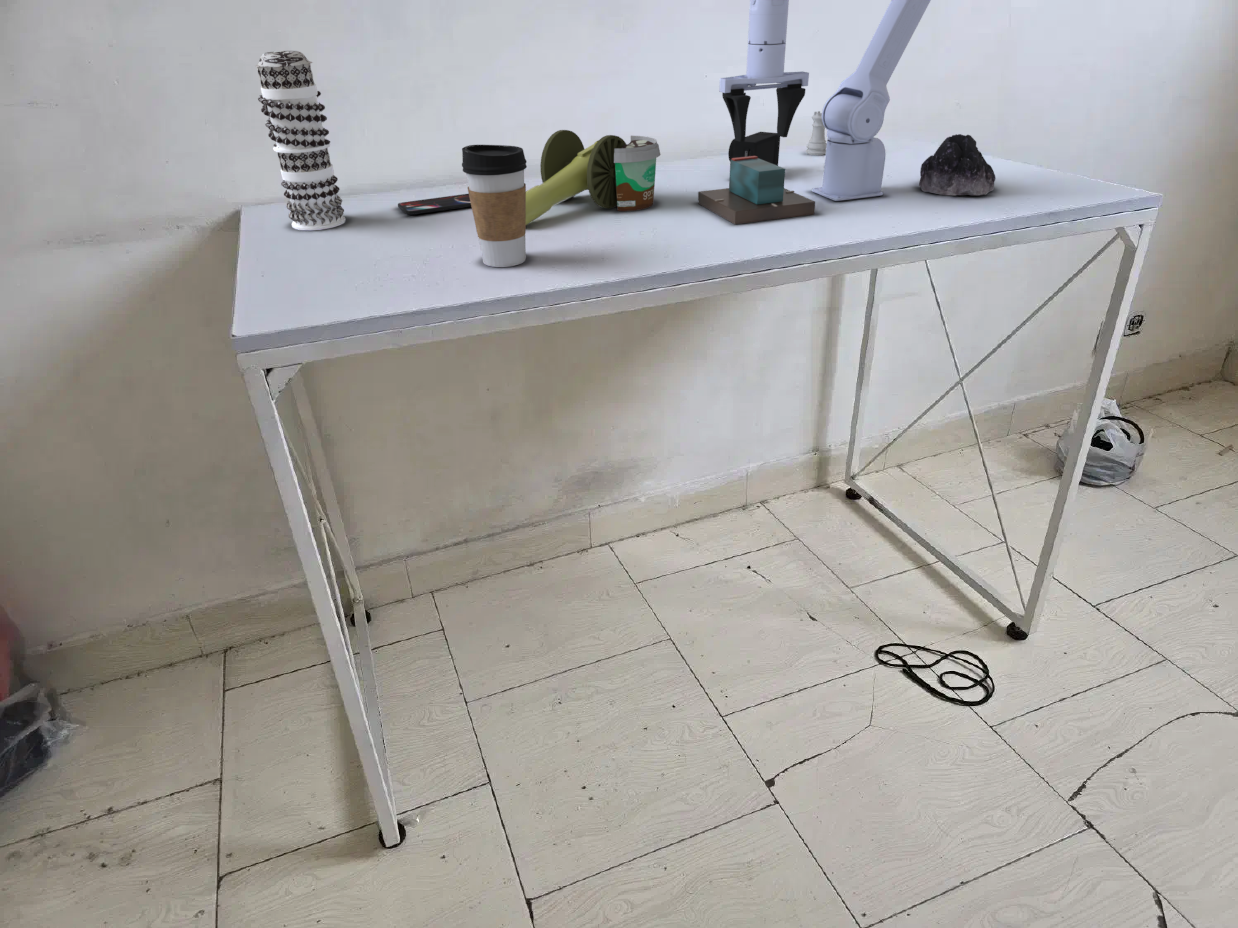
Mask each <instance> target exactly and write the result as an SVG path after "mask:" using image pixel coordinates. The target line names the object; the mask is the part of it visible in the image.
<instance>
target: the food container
mask: <svg viewBox="0 0 1238 928" xmlns="http://www.w3.org/2000/svg"><path fill="white" fill-rule="evenodd" d="M660 156H661V151H660V146H659V143H658V140H657V139H656V138H653V137H651V136H646V135H645V136H644V135H630V142H628V143H626V145H624V146H623V147H622V148H615V149H614V163H615V171H616V190H617V206H616V208H617V209H616V210H617V212H634V211H635V212H636V211H640V210H641V211H642V210H645V209H649V208H652V207H653V206H654V201H655V186H656V184H655V183H656V172H657V171H656V169H657V168H656V167H657V158H659V157H660Z"/></svg>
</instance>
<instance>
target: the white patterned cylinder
mask: <svg viewBox="0 0 1238 928" xmlns="http://www.w3.org/2000/svg"><path fill="white" fill-rule="evenodd" d="M311 64H313V61H310V60H309V59H308V58H307V57H306V56H305V54H304V53H303V52H302V51H299V50H277V51H275V50H274V51H267V52H264V53H262V54H261V55H260V57H259V61H258V63H257V64H255V65H254V66H255V67H256V71H257V74H258V78H259V82H260V93H261V94H260V95H259V96H258V98H257V100H258V102H259V103H261V104H262V107H261V109H260V112H261V113H263V115H264V116H267V117H268V118H267V119H266V122H265V123H264V125H265V127H266V128H268V130H269V133H268V134H267V135H268V137H269V138H270V140H271V141H274V142H275V143H274V144H273V147H272V150H273V151H274V152H275V153H277V158H278V161H279V166H280V171H279V172H280V175H281V180H282V182H281V183H280V186H281V187H283V188H284V189H286V190H285V191H284V192H283V196H284V197H285V198H286V199H288V201H287V202H286V205H285V206H286V207H285V208H286V209H287V210H288V211H289V212H288V218H289V219H290V220H291V221H292V222H291V227H292V229H294V230H299V231H320V230H326V229H332V228H336V227H339V226H342V225H343V224H345V223H346V217H345V216H344V213H345V209H344V207H342V203H343V198H341V196H340V195H338V193H339V192H340V190H341V189H340V187H339V186H338V185H336V183H337V182H338V181H339V180H338V177H337V176H336V175H335V170H334V165H333V164H332V162H331V158H330V153H329V148H330V146H331V141H330V140H329V139H327V136H328V135H329V134H330V131H329V129H327V128H325V127H324V126H323V124H324V123H325V122H326V121H327V120H328V117H327V116H326V115H324V114H323V111H324V110H325V109H326V106H325V104H322V103H321V102H320V101H319V102H318V99H319V97H320V96H321V95H322V93H321V91H320V90H318V88H317V84H316V83H315V81H314V74H313V71H312V66H311Z"/></svg>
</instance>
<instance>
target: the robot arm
mask: <svg viewBox="0 0 1238 928" xmlns="http://www.w3.org/2000/svg"><path fill="white" fill-rule="evenodd" d="M931 1H932V0H890V2H889V4H888V6H887V8H886V10H885V12H884V14H883V16H882V18H881V20H880V22H879V24H878V25H877V27H876V29H875V31H874V34H873V36H872V38H871V40H870V41H869V43H868V46H867V48H866V49H865V51H864V53H863V56H862V57H861V59H860V61H859V64H858V65H857V67H856V69H855V71H854V72H853V73H851V74H850V75H848V77H846V78H845V79H843V80H842V81H841V82H840V84H839V86H838V88H837V89H836V91H835V92H834V93H833V94H832V95H831V96H830V97H829V98H827V100H826V102H825V103H824V104H823V107H822V111H821V113H822V123H823V125H824V127H825V130H826V144H827V146H826V154H825V156H824V164H823V165H824V166H823V175H822V186H821V187H812V188H811V192H813V193H815V194H817V195H820V196H823V197H824V198H827V199H830V200H832V201H835V202H839V201H848V200H849V201H850V200H856V199H864V198H873V197H879V196H880V197H881V196H883V195H884V191H881V190H882V185H883V177H884V171H885V163H886V157H887V156H886V155H887V154H886V147H885V144H884V142H883V141H882V140H881V139H880V138H878V137H876V136H877V135H878V133H879V132H880V130H881V129H882V127H883V124H884V121H885V119H884V118H885V114H886V113H885V112H886V109H887V107H888V104H889V103H890V100H891V99H890V95H889V92H888V91H889V90H888V87H887V85H888V83H889V81H890V79H891V77H892V75H893V73H894V71H895V70H896V67H897V66H898V64H899V62H900V60H901V58H902V56H903V54H904V53H905V51H906V48H907V46H908V45H909V43H910V42H911V39H912V37H913V35H914V33H915V31H916V30H917V27H918V25H919V24H920V22H921V20H922V18H923V16H924V14H925V12H926V10H927V9H928V6H929V5H930V3H931ZM789 5H790V0H749V9H748V10H749V11H748V31H747V50H746V52H747V53H746V71H745V74H741V75H740V74H739V75H736V76H735V75H734V76H728V77H727V76H726V77H719V86H718V87H719V90H718V91H719V93H722V94H721V95H722V99H723V101H724V104H725V106H726V108H727V111H728V113H729V117H730V120H731V124H732V129H733V136H734V139H735V140H736V141H739V142H744V141H745V137H746V136H747V134H746V132H747V119H748V111H749V107H750V103H751V98H752V97H751V96H750V95H747V93H746V91H757V90H767V89H768V90H769V89H775V91H776V99H777V119H776V120H777V121H776V133H777V135H778V136H780V138H787V137H788V134H789V131H790V128H791V125H792V122H793V119H794V116H795V114H796V112H797V110H798V108H799V106H800V104H801V103H802V100H803V99H804V97H805V96H806V88H804V87H808V86H809V77H810V72H807V71H804V70H803V71H785V63H786V49H787V48H786V46H787V34H788V33H787V32H788V31H787V30H788V20H789V19H788V18H789Z"/></svg>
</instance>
